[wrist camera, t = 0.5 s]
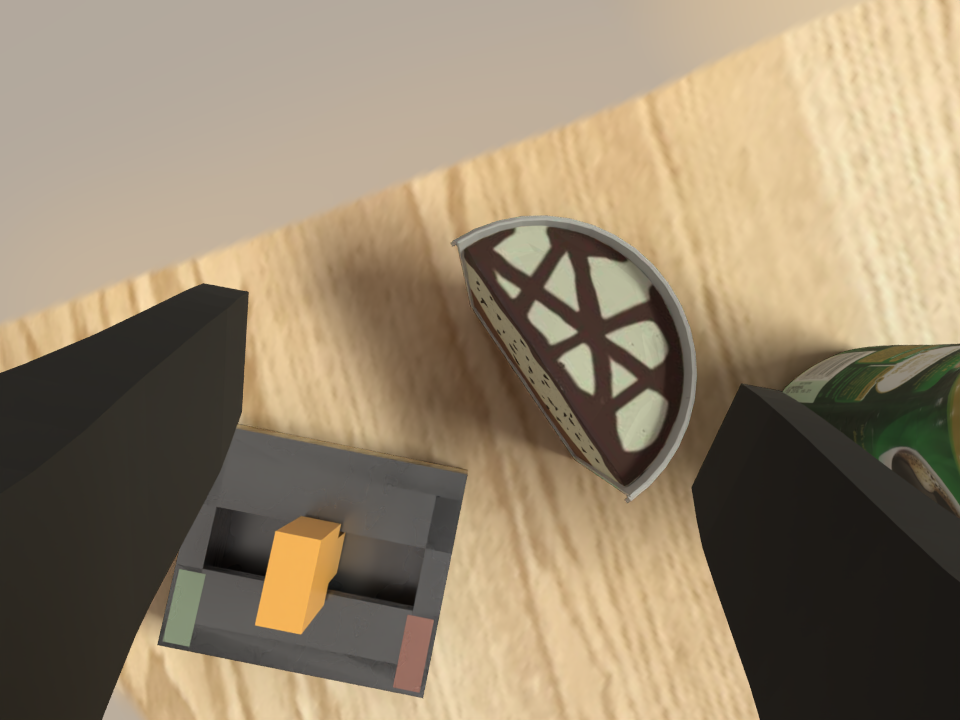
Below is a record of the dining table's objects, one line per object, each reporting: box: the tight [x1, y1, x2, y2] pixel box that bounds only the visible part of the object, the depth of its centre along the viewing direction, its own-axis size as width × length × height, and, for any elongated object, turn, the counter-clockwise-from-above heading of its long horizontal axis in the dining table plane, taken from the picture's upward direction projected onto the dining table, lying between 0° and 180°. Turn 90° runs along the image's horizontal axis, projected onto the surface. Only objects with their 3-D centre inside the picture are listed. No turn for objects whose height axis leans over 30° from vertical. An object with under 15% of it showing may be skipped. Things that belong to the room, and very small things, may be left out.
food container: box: [451, 216, 697, 503], centre depth 32 cm, size 12×6×10 cm, turn 34°
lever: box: [255, 516, 345, 634], centre depth 31 cm, size 4×2×7 cm, turn 169°
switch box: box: [157, 424, 467, 698], centre depth 34 cm, size 10×12×3 cm
